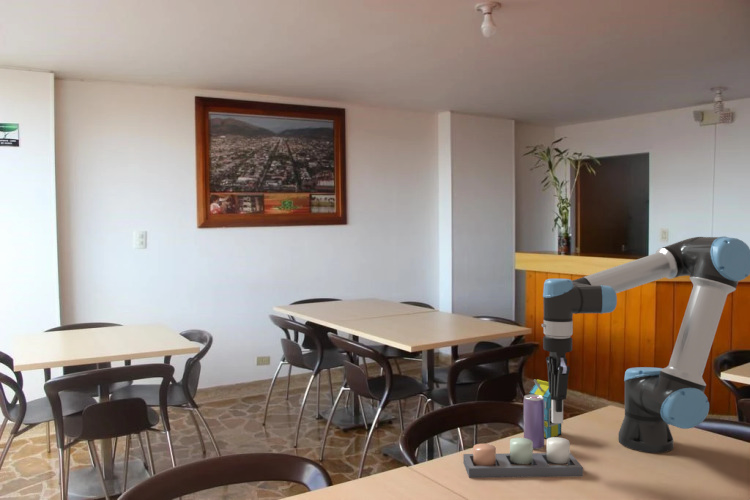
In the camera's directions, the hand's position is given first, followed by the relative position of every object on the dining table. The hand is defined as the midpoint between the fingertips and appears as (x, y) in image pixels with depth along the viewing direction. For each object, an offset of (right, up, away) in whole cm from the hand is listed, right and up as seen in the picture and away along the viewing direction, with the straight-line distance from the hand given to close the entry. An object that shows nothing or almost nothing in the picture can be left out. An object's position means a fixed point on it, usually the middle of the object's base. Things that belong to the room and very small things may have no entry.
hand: (557, 422), depth 159 cm
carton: (+4, -12, +27) cm, 30 cm away
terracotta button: (-20, -12, 0) cm, 23 cm away
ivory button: (0, -10, 0) cm, 10 cm away
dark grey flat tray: (-10, -13, 0) cm, 16 cm away
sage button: (-10, -10, 0) cm, 14 cm away
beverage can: (-2, -13, +17) cm, 22 cm away
